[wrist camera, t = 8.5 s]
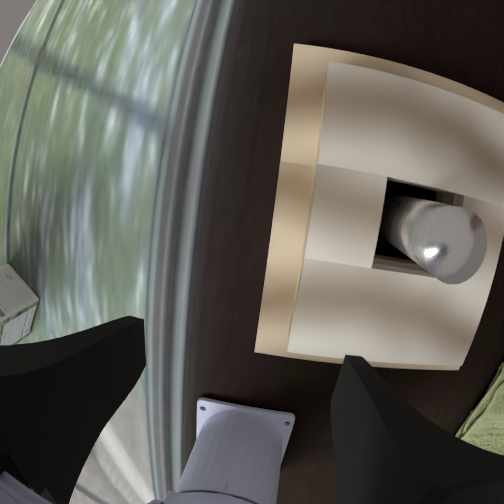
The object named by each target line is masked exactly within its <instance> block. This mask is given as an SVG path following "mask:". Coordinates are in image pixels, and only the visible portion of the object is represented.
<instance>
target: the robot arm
mask: <svg viewBox="0 0 504 504" xmlns="http://www.w3.org/2000/svg"><path fill="white" fill-rule="evenodd" d="M145 366H146V355H145V336H144V319H141V318H137V317H133V316H126V317H122V318H119V319H116V320H113V321H110V322H107V323H104V324H101V325H98V326H95V327H93V328H90V329H87V330H84V331H80V332H77V333H74V334H70V335H67V336H64V337H60V338H56V339H51V340H47V341H41V342H36V343H27V344H17V345H0V504H69V501H70V498H71V495H72V493H73V490H74V487H75V485H76V482H77V480H78V478H79V475H80V473H81V470H82V468H83V466H84V464H85V462H86V460H87V458H88V456H89V454H90V452H91V450H92V448H93V446H94V444H95V442H96V440H97V439H98V437H99V435H100V433H101V431H102V430H103V428H104V427H105V425H106V424H107V423H108V421H109V420H110V419H111V417H112V416H113V414H114V413H115V412H116V410H117V409H118V408H119V406H120V405H121V404H122V402H123V401H124V400H125V399H126V397H127V396H128V394H129V393H130V392H131V390H132V389H133V388H134V386H135V385H136V383H137V381H138V379H139V378H140V376H141V374H142V372H143V370H144V368H145ZM202 406H203V407H205V408H203V407H202ZM294 421H295V415H294V414H293V413H289V412H281V411H274V410H267V409H261V408H255V407H249V406H243V405H238V404H233V403H228V402H223V401H218V400H213V399H209V398H204V397H202V398H199V400H198V402H197V440H196V442H195V445H194V447H193V450H192V452H191V455H190V457H189V460H188V462H187V465H186V467H185V470H184V472H183V474H182V477H181V479H180V482H179V484H178V487H177V489H176V492H173V491H168V494H167V496H166V498H165V500H164V502H163V501H160V500H157V499H156V500H152V501H151V502H150V503H147V504H276V500H277V492H278V483H279V474H280V465H281V462H282V459H283V456H284V453H285V450H286V447H287V444H288V441H289V437H290V434H291V431H292V428H293V424H294ZM287 422H289V423H287ZM331 429H332V438H333V446H334V454H335V462H336V471H337V501H336V504H504V455H500V454H497V453H494V452H491V451H488V450H484V449H482V448H479V447H477V446H475V445H472V444H470V443H468V442H466V441H464V440H462V439H460V438H458V437H456V436H454V435H452V434H451V433H449V432H447V431H445V430H444V429H442V428H440V427H439V426H437V425H436V424H434V423H433V422H431V421H430V420H429V419H427V418H426V417H425V416H423V415H422V414H421V413H419V412H418V411H417V410H416V409H414V408H413V407H412V406H411V405H410V404H409V403H408V402H406V401H405V400H404V399H403V398H402V397H401V396H400V395H399V394H398V393H397V392H396V391H395V390H394V389H393V388H392V387H391V386H390V385H389V384H388V383H387V382H386V381H385V380H384V379H383V378H382V377H381V376H380V375H379V374H378V372H377V371H376V370H375V369H374V368H373V367H372V366H371V365H370V364H369V363H368V362H367V361H366V360H365V359H364V358H363V357H362V356H354V355H345V357H344V361H343V364H342V367H341V370H340V373H339V377H338V380H337V383H336V386H335V389H334V392H333V395H332V397H331Z"/></svg>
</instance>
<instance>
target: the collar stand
mask: <svg viewBox="0 0 504 504" xmlns="http://www.w3.org/2000/svg"><path fill="white" fill-rule="evenodd" d="M387 180H389V181H394V182H398V183H403V184H407V185H412V186H416V187H420V188H425V189H429V190H433V191H437V193H436V200H435V202H439V203H444V204H448V205H453V206H458V207H462V208H466V209H469V210H471V211H473V212H474V213H475V214H477V215H478V217H479V218H480V219H481V221H482V222H483V224H484V227H485V230H486V234H487V250H486V255H485V258H484V260H483V263H482V265H481V266H480V268H479V269H478V271H477V272H476V273H475V274H474V275H473V276H472V277H471V278H470V279H468V280H467V281H465V282H463V283H460V284H446V283H443V282H441V281H440V280H438V279H437V278H435V277H434V276H433V275H432V274H430V273H429V272H428V271H427V270H425V269H424V268H423V267H421V266H420V265H419V264H417V263H416V262H415V261H413V260H407V259H401V258H395V257H389V256H383V255H376V254H375V249H376V244H377V239H378V233H379V228H380V222H381V216H382V210H383V204H384V198H385V191H386V184H387ZM503 235H504V103H503V102H501V101H499V100H497V99H495V98H493V97H491V96H489V95H486V94H484V93H482V92H480V91H477V90H475V89H473V88H470V87H468V86H465V85H463V84H460V83H458V82H455V81H452V80H450V79H447V78H444V77H441V76H438V75H435V74H433V73H430V72H426V71H423V70H420V69H417V68H414V67H410V66H407V65H403V64H400V63H396V62H392V61H388V60H384V59H380V58H376V57H372V56H367V55H363V54H358V53H353V52H348V51H342V50H337V49H331V48H324V47H318V46H310V45H302V44H294V48H293V58H292V67H291V76H290V85H289V94H288V102H287V111H286V119H285V128H284V136H283V144H282V153H281V161H280V169H279V177H278V185H277V192H276V200H275V208H274V216H273V223H272V231H271V238H270V246H269V253H268V260H267V268H266V275H265V282H264V289H263V296H262V303H261V310H260V317H259V324H258V331H257V338H256V345H255V352H258V353H264V354H270V355H276V356H283V357H290V358H297V359H305V360H313V361H321V362H330V363H339V364H343V361H344V357H345V355H354V356H362V357H363V358H364V359H365V360H366V361H367V362H368V363H369V364H370V365H371V366H372V367H386V368H403V369H427V370H459V368H460V366H462V364H463V362H464V360H465V358H466V355H467V353H468V350H469V348H470V346H471V343H472V341H473V338H474V335H475V333H476V330H477V327H478V325H479V322H480V319H481V316H482V313H483V310H484V307H485V304H486V301H487V298H488V295H489V292H490V288H491V285H492V281H493V278H494V274H495V270H496V266H497V262H498V258H499V254H500V249H501V245H502V240H503Z"/></svg>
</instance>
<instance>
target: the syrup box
mask: <svg viewBox="0 0 504 504" xmlns="http://www.w3.org/2000/svg"><path fill="white" fill-rule="evenodd" d="M38 303H39V298H38V297H37V296H36V295H35V294H34V292H33V291H32V290H31V289H30V288H29V286H28V285H27V284H26V283H25V282H24V281H23V280H22V278H21V277H20V276H19V275H18V274H17V273H16V271H15V270H14V269H13V268H12V267H11V266H10V264H6V265H3V266H1V267H0V345H15V344H16V343H18V342H19V341H21V340H22V339H24V338H25V337H26V336H28V335H29V334H30V331H31V327H32V323H33V320H34V316H35V313H36V309H37V306H38Z"/></svg>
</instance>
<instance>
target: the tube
mask: <svg viewBox="0 0 504 504" xmlns="http://www.w3.org/2000/svg"><path fill="white" fill-rule="evenodd" d="M379 232H380V234H381V235H382V237H383V238H384V239H385V240H386V241H388V242H389V243H391V244H392V245H393V246H395V247H396V248H397V249H399V250H400V251H401V252H403V253H404V254H405V255H407V256H408V257H409V258H411V259H412V260H413V261H415V262H416V263H417V264H419V265H420V266H421V267H423V268H424V269H425V270H427V271H428V272H429V273H430V274H432V275H433V276H434V277H435V278H437V279H438V280H440V281H441V282H443V283H446V284H460V283H463V282H465V281H467V280H468V279H470V278H471V277H472V276H473V275H474V274H475V273H476V272H477V271H478V269H479V268H480V266H481V265H482V263H483V260H484V258H485V255H486V250H487V234H486V230H485V227H484V224H483V222H482V221H481V219H480V218H479V217H478V215H477V214H475V213H474V212H473V211H471V210H469V209H466V208H462V207H458V206H453V205H448V204H444V203H439V202H434V201H429V200H424V199H419V198H414V197H409V196H403V195H396V196H393V197H390V198H389V199H387V200H386V201H385V202H384V204H383V210H382V216H381V222H380V228H379Z"/></svg>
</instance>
